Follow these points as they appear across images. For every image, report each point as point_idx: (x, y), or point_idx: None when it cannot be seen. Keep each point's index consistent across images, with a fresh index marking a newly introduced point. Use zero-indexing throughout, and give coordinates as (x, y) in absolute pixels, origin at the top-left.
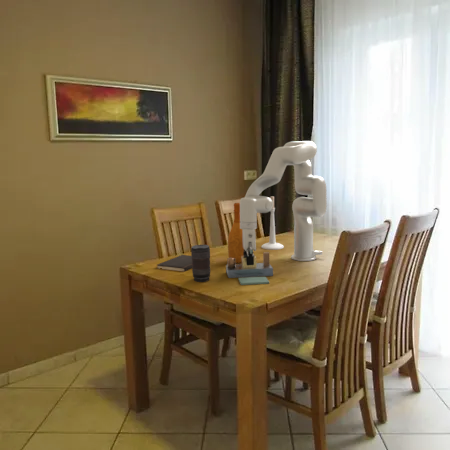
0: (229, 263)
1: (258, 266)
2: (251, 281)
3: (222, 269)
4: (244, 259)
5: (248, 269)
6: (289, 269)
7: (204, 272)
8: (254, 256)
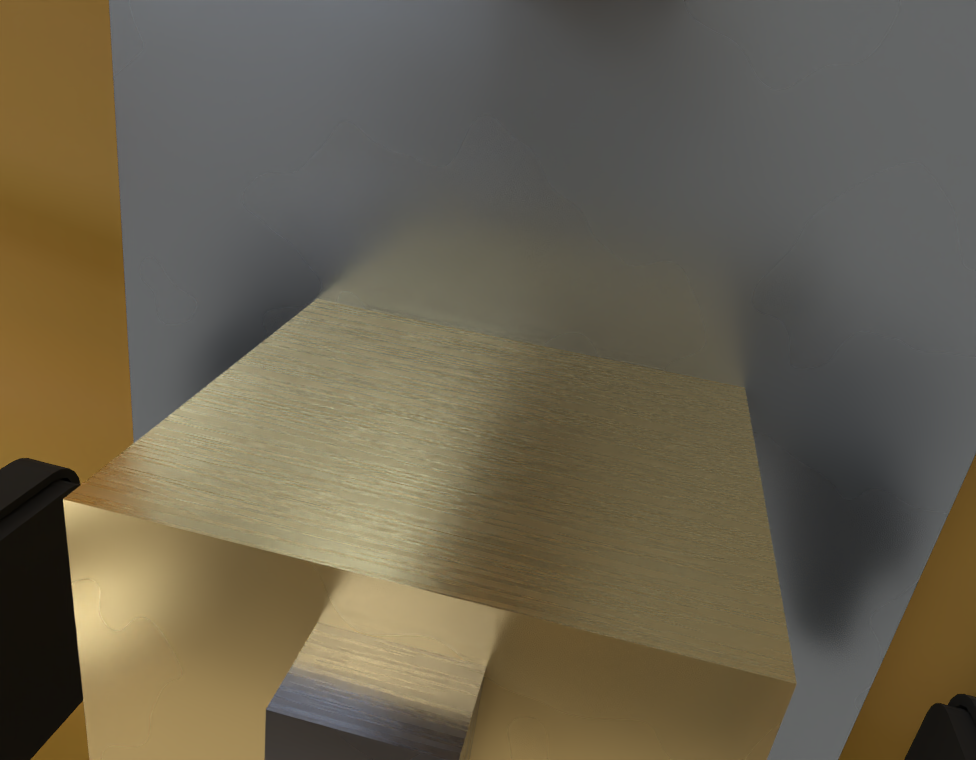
0: None
1: (628, 258)
2: None
3: (57, 746)
4: None
5: (855, 703)
6: None
7: None
8: (475, 681)
